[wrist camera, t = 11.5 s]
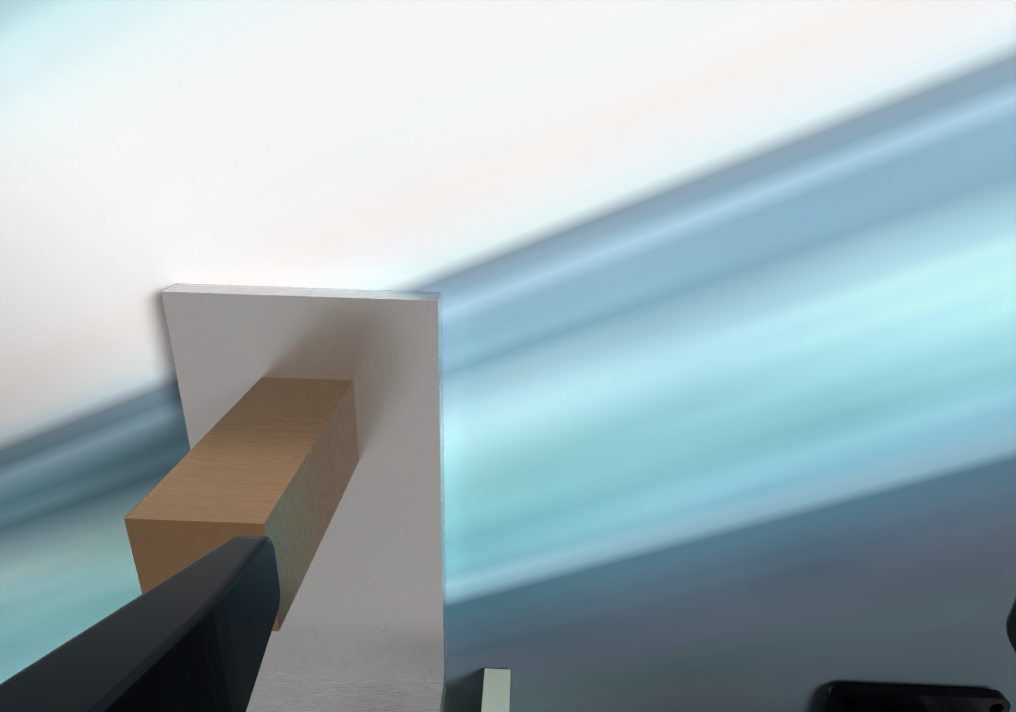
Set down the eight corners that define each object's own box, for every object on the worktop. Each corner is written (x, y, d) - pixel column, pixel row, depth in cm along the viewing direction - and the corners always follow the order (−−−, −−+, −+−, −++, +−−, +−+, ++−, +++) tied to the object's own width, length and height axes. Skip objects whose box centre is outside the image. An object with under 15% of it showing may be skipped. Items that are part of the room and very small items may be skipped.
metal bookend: (178, 282, 19) (-44, 396, 12) (442, 290, 19) (388, 411, 11) (246, 673, 25) (128, 913, 18) (447, 681, 25) (413, 927, 17)
